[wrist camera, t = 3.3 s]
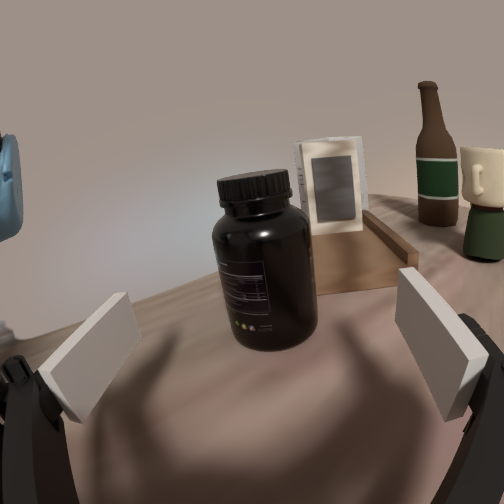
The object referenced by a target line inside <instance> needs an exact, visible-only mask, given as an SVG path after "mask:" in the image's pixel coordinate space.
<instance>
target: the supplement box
mask: <svg viewBox="0 0 504 504" xmlns="http://www.w3.org/2000/svg"><path fill="white" fill-rule="evenodd" d="M340 140H356V148H357V157H358V167H359V178H360V190H361V205H362V210H367V211H369V207H368V192H367V181H366V171H365V161H364V152H363V144H362V137H361V136H353V137H328V138H319V139H312V140H304V141H297V142H293V147H294V154H295V162H296V169H297V177H298V184H299V193H300V201H301V210H302V211H303V212H304V213H305V214H306V215H307V211H306V201H305V192H304V183H303V175H302V167H301V159H300V151H299V145H300V144H303V143H313V142H326V141H340Z"/></svg>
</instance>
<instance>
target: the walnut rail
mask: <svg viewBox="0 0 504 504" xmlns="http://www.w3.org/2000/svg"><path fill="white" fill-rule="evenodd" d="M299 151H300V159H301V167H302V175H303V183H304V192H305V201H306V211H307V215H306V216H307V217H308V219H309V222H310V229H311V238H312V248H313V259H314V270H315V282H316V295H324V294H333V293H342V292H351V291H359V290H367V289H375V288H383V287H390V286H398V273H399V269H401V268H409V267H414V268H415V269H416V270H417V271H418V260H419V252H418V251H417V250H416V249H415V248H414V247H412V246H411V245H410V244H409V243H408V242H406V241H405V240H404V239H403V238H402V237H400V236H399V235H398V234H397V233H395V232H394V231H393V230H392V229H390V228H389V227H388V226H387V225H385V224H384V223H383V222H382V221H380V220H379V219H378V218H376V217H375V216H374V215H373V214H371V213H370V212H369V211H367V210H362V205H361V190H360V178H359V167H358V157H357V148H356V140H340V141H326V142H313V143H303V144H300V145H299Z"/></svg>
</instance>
